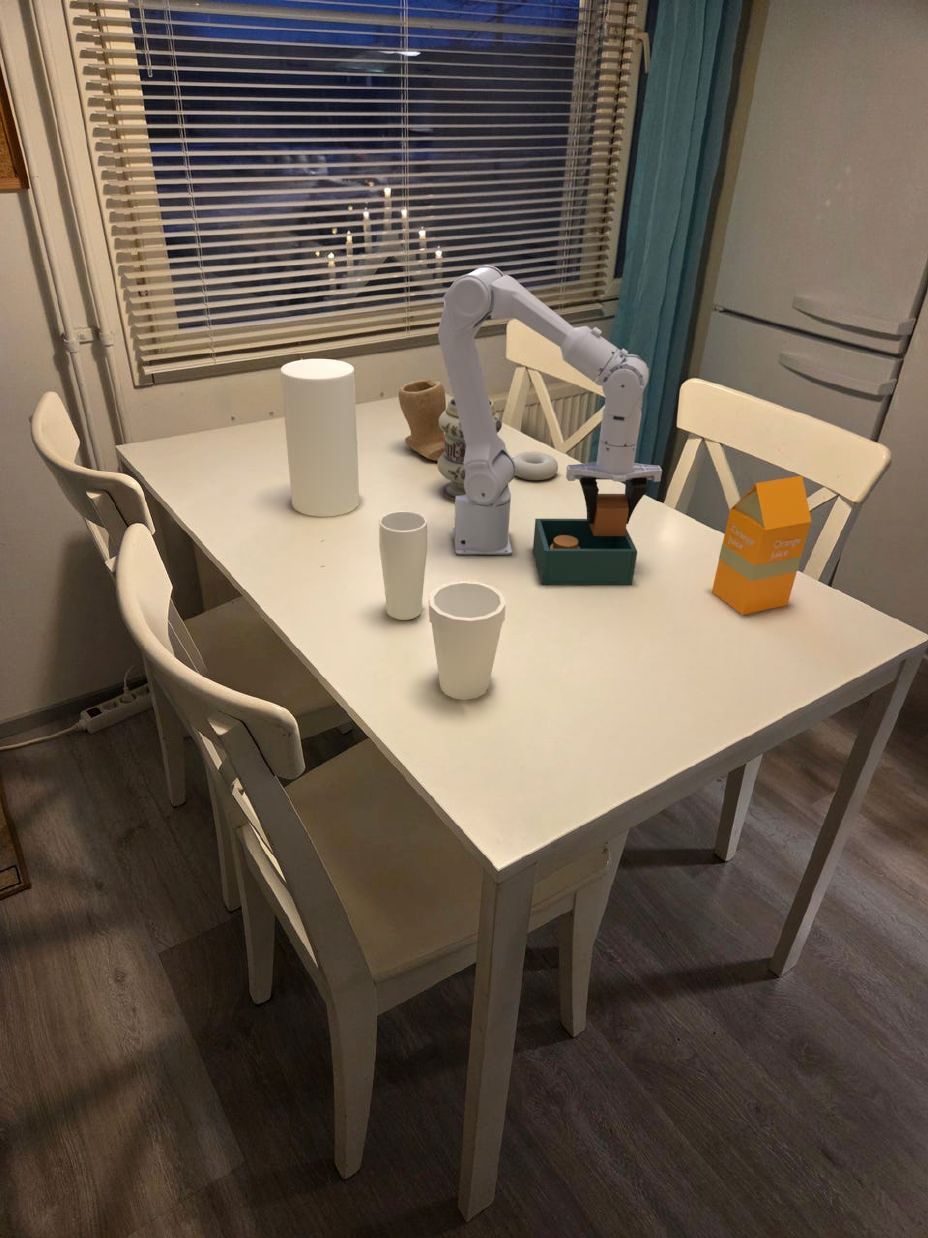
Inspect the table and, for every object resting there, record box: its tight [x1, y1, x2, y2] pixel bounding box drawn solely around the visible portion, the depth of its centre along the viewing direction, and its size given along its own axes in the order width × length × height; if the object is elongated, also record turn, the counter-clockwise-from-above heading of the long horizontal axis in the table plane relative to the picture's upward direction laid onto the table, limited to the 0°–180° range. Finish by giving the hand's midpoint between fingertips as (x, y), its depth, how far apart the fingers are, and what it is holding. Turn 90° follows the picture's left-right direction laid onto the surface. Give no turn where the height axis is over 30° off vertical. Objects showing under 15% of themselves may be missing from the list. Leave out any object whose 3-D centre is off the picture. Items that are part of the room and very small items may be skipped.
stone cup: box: [398, 379, 447, 462], centre depth 174 cm, size 15×12×15 cm
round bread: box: [550, 535, 580, 549], centre depth 134 cm, size 5×5×5 cm
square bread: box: [589, 493, 629, 536], centre depth 132 cm, size 5×5×6 cm
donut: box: [512, 451, 559, 481], centre depth 169 cm, size 10×4×10 cm
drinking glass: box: [378, 510, 428, 621], centre depth 119 cm, size 7×7×15 cm
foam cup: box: [428, 580, 507, 701], centre depth 104 cm, size 10×9×13 cm
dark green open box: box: [532, 518, 638, 586], centre depth 135 cm, size 15×12×6 cm
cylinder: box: [280, 358, 360, 518], centre depth 148 cm, size 12×12×25 cm
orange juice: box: [711, 475, 812, 616], centre depth 124 cm, size 8×9×20 cm
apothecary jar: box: [436, 396, 503, 502], centre depth 156 cm, size 12×12×18 cm
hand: (607, 521), depth 132 cm, fingers closed on square bread, 5 cm apart
